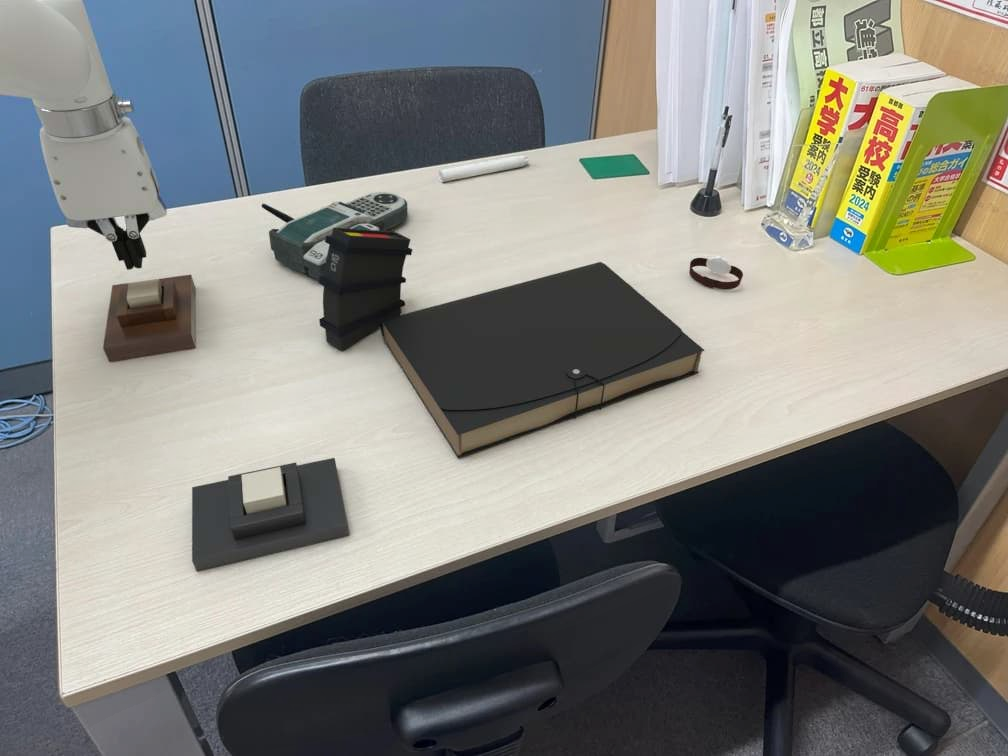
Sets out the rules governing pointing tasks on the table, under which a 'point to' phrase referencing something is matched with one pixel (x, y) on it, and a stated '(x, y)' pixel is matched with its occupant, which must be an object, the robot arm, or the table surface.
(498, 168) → the marker
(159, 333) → the brown switch frame
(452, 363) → the file folder
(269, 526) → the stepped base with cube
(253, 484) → the near key
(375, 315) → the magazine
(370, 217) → the communication device
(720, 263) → the watch
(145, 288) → the beige switch key
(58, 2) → the robot arm
